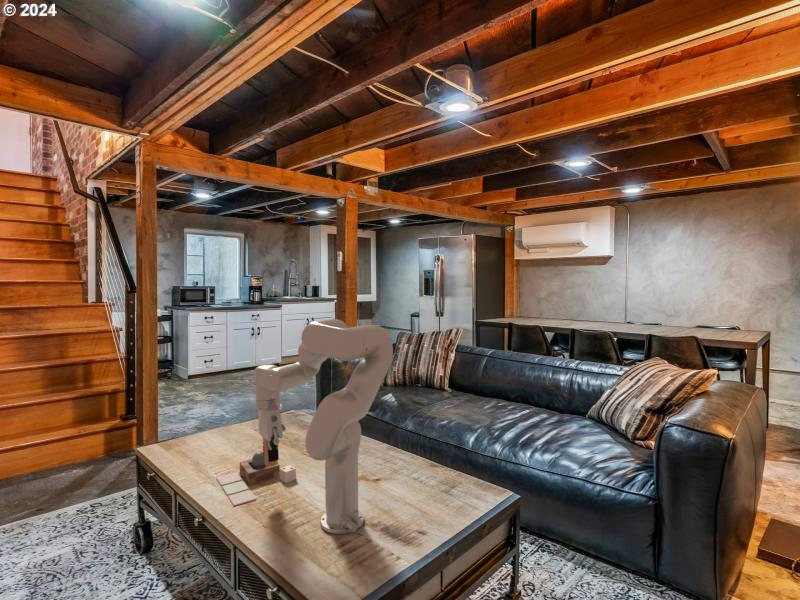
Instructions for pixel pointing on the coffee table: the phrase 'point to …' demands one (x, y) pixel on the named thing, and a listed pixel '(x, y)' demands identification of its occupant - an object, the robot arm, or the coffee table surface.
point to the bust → (281, 414)
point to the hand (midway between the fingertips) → (271, 458)
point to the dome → (258, 460)
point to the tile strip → (236, 489)
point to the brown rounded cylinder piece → (266, 448)
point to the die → (287, 473)
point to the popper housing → (258, 472)
